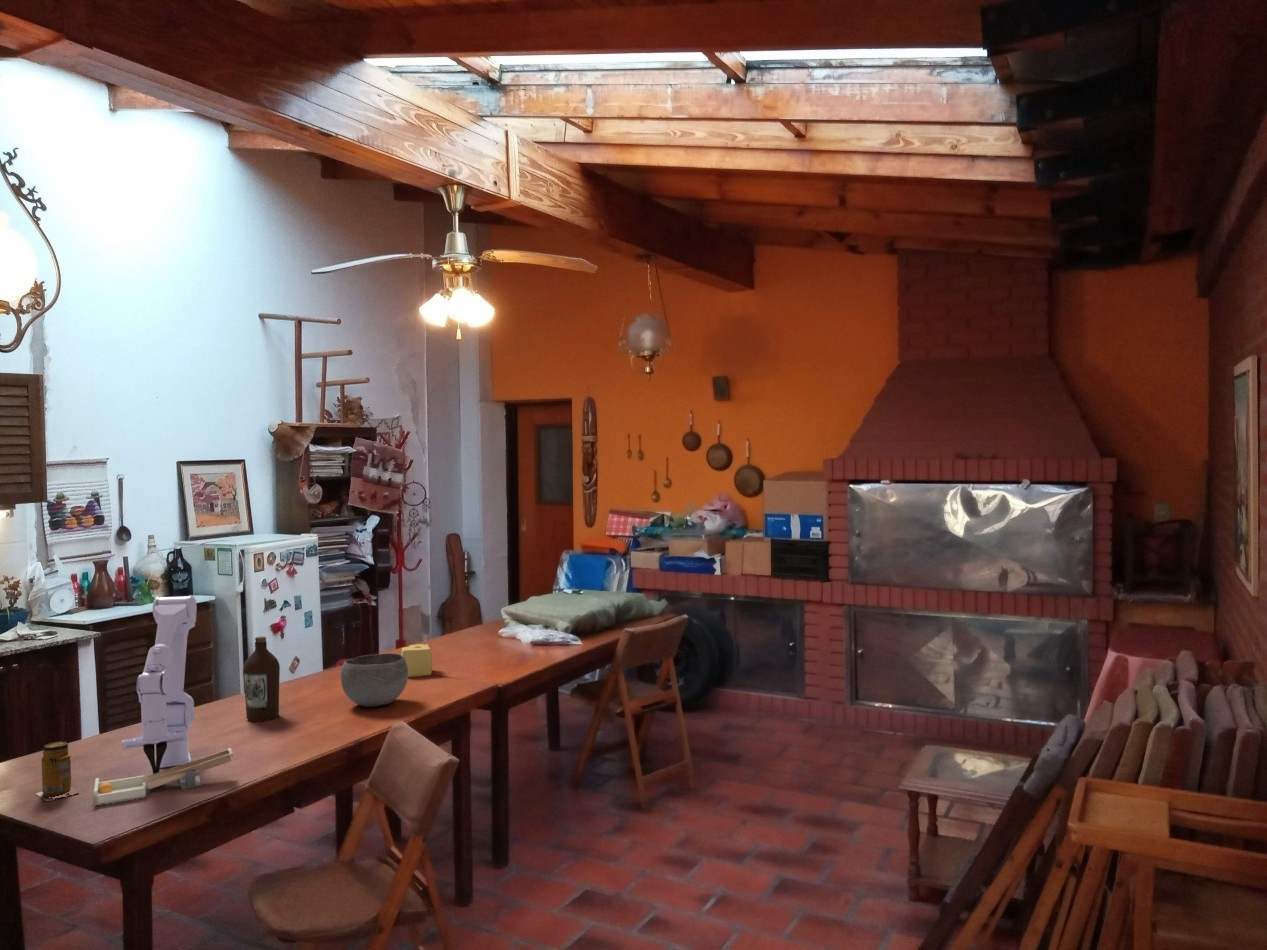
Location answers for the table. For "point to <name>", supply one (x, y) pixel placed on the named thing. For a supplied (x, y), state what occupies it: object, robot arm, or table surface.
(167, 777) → the lever
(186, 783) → the pivot
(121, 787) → the dish
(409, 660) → the cheese
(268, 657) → the olive oil
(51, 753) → the condiment
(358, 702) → the bowl
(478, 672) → the table surface
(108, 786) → the ball
